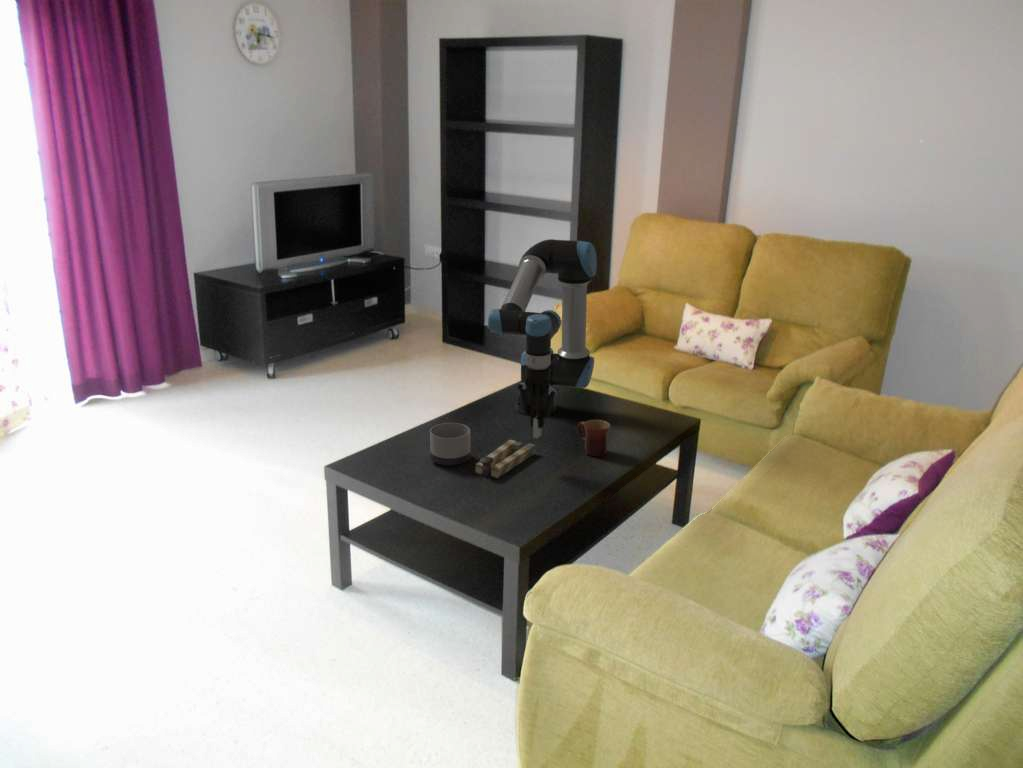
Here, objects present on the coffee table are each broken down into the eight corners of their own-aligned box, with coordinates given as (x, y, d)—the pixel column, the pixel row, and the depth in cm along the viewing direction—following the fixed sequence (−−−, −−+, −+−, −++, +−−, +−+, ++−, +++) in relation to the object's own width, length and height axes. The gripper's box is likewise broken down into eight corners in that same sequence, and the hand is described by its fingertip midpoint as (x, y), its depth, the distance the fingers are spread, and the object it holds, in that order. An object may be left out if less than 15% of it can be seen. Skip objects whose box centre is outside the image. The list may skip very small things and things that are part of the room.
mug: (614, 453, 277) (615, 424, 273) (598, 461, 271) (599, 432, 267) (585, 442, 284) (586, 414, 281) (569, 450, 278) (570, 422, 275)
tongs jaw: (497, 478, 258) (497, 469, 257) (491, 476, 259) (491, 467, 258) (534, 453, 275) (535, 444, 274) (528, 451, 276) (528, 443, 275)
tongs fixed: (489, 479, 257) (489, 463, 255) (472, 475, 260) (472, 458, 258) (525, 451, 277) (526, 436, 275) (509, 447, 280) (509, 432, 278)
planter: (424, 465, 267) (423, 435, 263) (440, 449, 278) (440, 420, 275) (460, 471, 263) (460, 440, 259) (476, 455, 274) (476, 426, 271)
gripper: (513, 365, 253) (513, 436, 262) (551, 373, 247) (550, 445, 256) (524, 358, 259) (524, 427, 268) (562, 365, 253) (561, 436, 262)
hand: (537, 436), depth 262 cm, fingers closed
